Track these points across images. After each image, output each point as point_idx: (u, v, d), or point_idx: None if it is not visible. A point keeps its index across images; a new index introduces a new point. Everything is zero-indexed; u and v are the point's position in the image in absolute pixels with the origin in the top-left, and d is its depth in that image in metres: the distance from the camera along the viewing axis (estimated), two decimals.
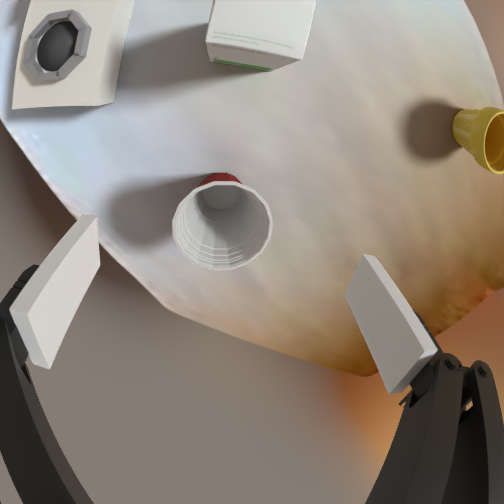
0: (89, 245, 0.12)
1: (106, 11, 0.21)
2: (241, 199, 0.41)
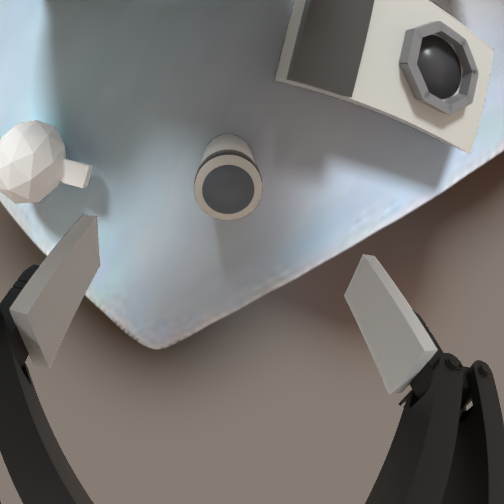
0: (89, 245, 0.12)
1: (415, 0, 0.16)
2: None
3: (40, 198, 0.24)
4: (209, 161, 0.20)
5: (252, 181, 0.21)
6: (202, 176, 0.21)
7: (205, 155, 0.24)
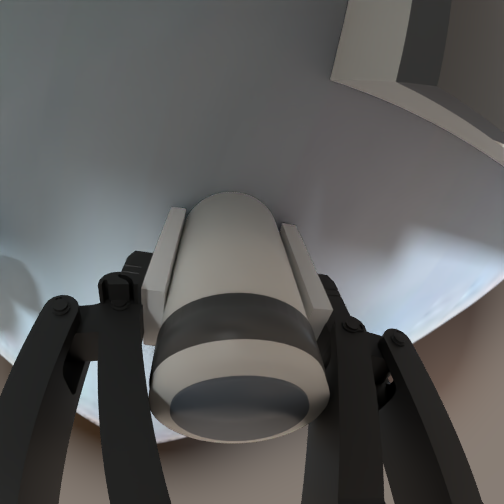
0: (181, 234, 0.14)
1: None
2: None
3: None
4: (180, 362, 0.06)
5: (306, 399, 0.07)
6: (165, 394, 0.07)
7: (177, 277, 0.10)
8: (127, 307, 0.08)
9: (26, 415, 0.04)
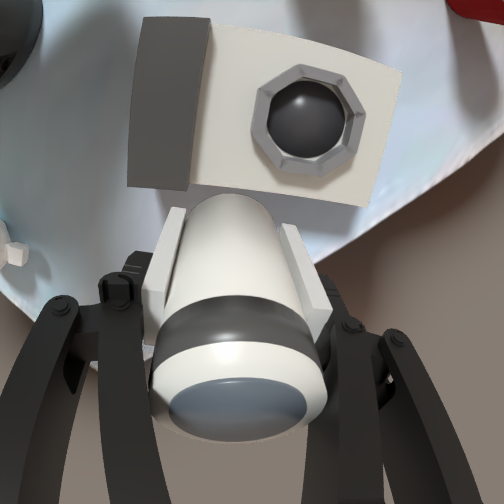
0: (181, 234, 0.14)
1: (271, 43, 0.19)
2: None
3: None
4: (178, 364, 0.06)
5: (304, 400, 0.07)
6: (164, 395, 0.07)
7: (176, 279, 0.10)
8: (127, 307, 0.08)
9: (26, 415, 0.04)
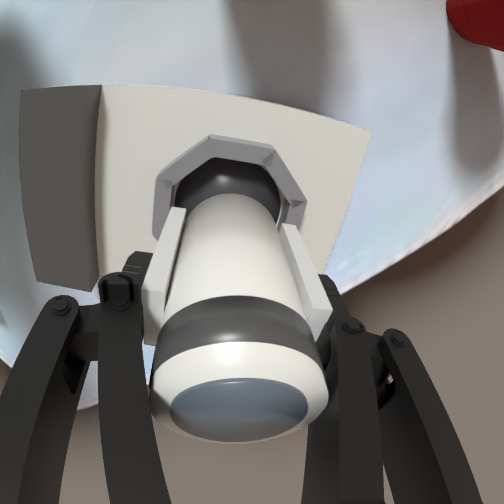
0: (181, 234, 0.14)
1: (177, 106, 0.15)
2: None
3: None
4: (179, 364, 0.06)
5: (305, 400, 0.07)
6: (165, 396, 0.07)
7: (177, 280, 0.10)
8: (127, 307, 0.08)
9: (26, 415, 0.04)
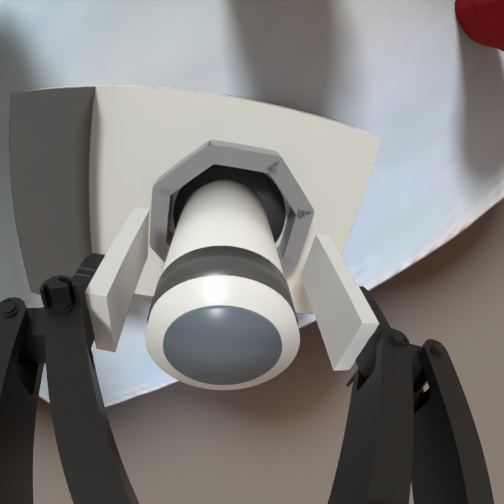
0: (143, 236, 0.13)
1: (175, 109, 0.14)
2: None
3: None
4: (172, 294, 0.08)
5: (278, 335, 0.09)
6: (159, 326, 0.08)
7: (175, 242, 0.12)
8: (70, 310, 0.07)
9: None
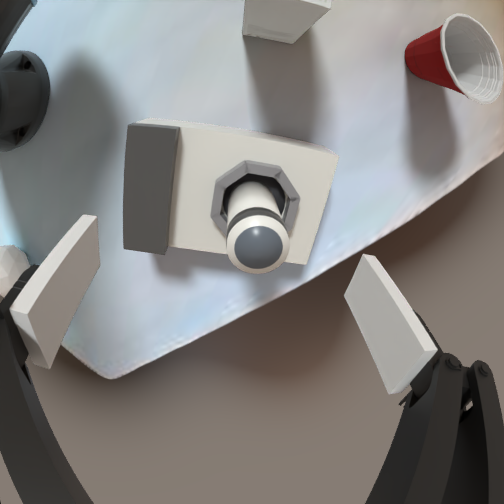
0: (89, 245, 0.12)
1: (226, 143, 0.29)
2: None
3: None
4: (241, 222, 0.23)
5: (281, 240, 0.23)
6: (234, 236, 0.23)
7: (233, 208, 0.26)
8: None
9: None
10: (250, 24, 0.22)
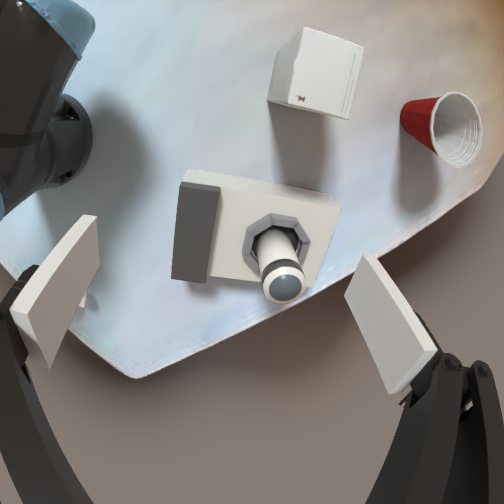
0: (89, 245, 0.12)
1: (256, 200, 0.39)
2: None
3: None
4: (274, 271, 0.33)
5: (301, 283, 0.33)
6: (270, 281, 0.33)
7: (265, 256, 0.36)
8: None
9: None
10: None
